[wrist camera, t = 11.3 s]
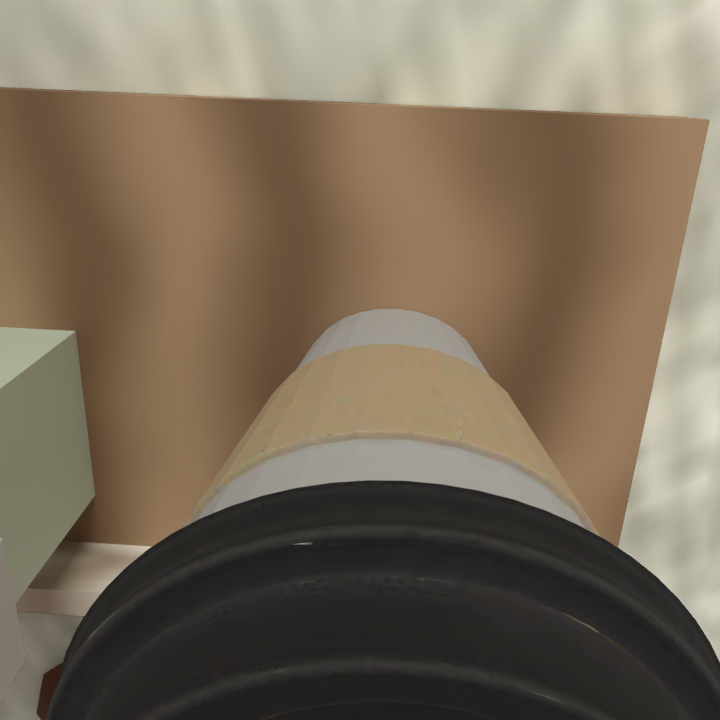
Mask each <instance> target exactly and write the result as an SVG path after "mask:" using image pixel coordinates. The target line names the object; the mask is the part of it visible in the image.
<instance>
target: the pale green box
mask: <svg viewBox="0 0 720 720" xmlns="http://www.w3.org/2000/svg"><path fill="white" fill-rule="evenodd" d="M94 496H95V489H94V481H93V472H92V464H91V456H90V447H89V439H88V430H87V422H86V414H85V405H84V397H83V389H82V380H81V372H80V364H79V355H78V347H77V339H76V331H65V330H47V329H28V328H10V327H0V538H3V543H4V548H5V553H6V558H7V563H8V568H9V573H10V579H11V584H12V589H13V594H14V599H15V604H16V602H17V601H18V600H19V598H20V597H21V595H22V594H23V593H24V591H25V590H26V589H27V587H28V586H29V585H30V583H31V582H32V581H33V579H34V578H35V576H36V575H37V574H38V572H39V571H40V570H41V568H42V567H43V566H44V564H45V563H46V561H47V560H48V559H49V557H50V556H51V555H52V553H53V552H54V551H55V549H56V548H57V547H58V545H59V544H60V542H61V541H62V540H63V538H64V537H65V536H66V534H67V533H68V532H69V530H70V529H71V527H72V526H73V525H74V523H75V522H76V521H77V519H78V518H79V517H80V515H81V514H82V513H83V511H84V510H85V508H86V507H87V506H88V504H89V503H90V502H91V500H92V499H93V498H94Z"/></svg>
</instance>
